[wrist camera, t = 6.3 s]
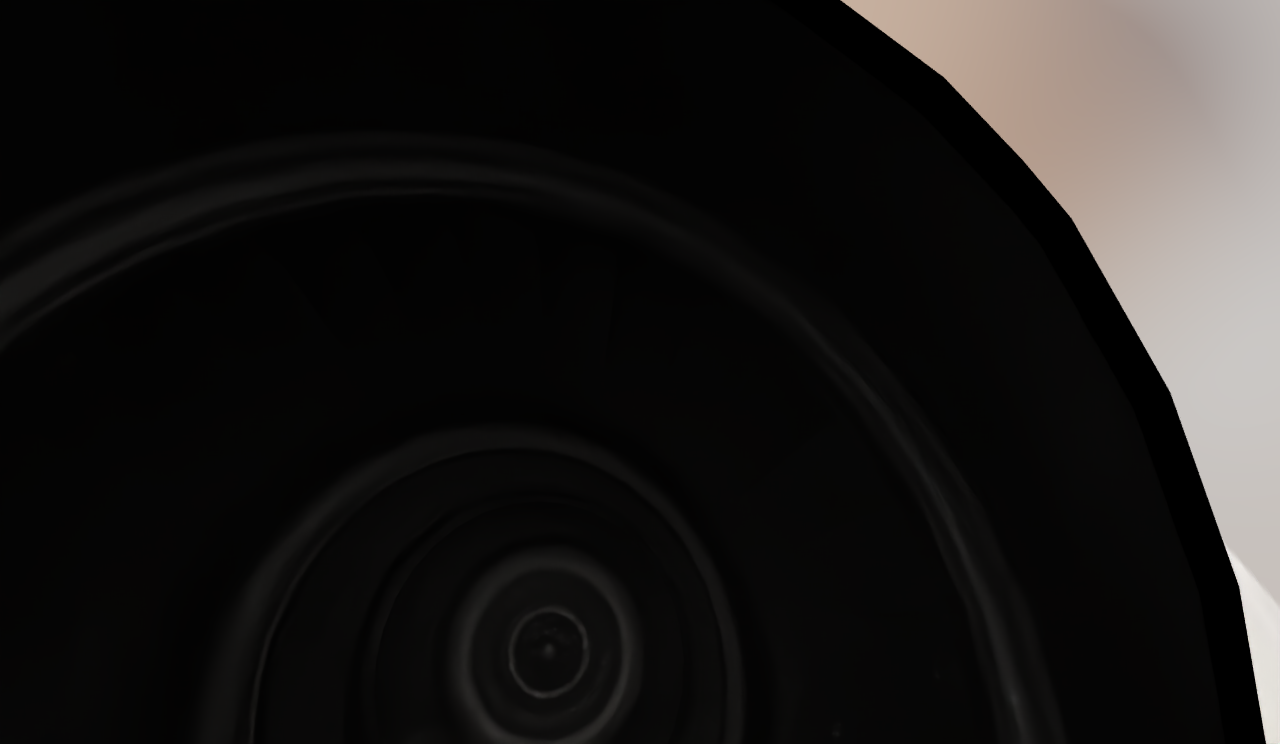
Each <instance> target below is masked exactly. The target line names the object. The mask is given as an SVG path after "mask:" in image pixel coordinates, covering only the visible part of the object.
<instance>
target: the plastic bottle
mask: <svg viewBox="0 0 1280 744" xmlns="http://www.w3.org/2000/svg"><path fill="white" fill-rule="evenodd" d="M0 744H1266V741H1265V735H1264V729H1263V723H1262V717H1261V711H1260V706H1259V700H1258V694H1257V688H1256V682H1255V676H1254V670H1253V665H1252V659H1251V653H1250V647H1249V641H1248V635H1247V629H1246V624H1245V618H1244V612H1243V606H1242V600H1241V594H1240V588H1239V585H1238V582H1237V579H1236V576H1235V574H1234V571H1233V568H1232V565H1231V562H1230V559H1229V557H1228V554H1227V551H1226V548H1225V545H1224V543H1223V540H1222V537H1221V534H1220V531H1219V529H1218V526H1217V523H1216V520H1215V517H1214V515H1213V512H1212V509H1211V506H1210V503H1209V500H1208V498H1207V495H1206V492H1205V489H1204V486H1203V483H1202V481H1201V478H1200V475H1199V472H1198V469H1197V467H1196V464H1195V461H1194V458H1193V455H1192V452H1191V450H1190V447H1189V444H1188V441H1187V438H1186V436H1185V433H1184V430H1183V427H1182V424H1181V421H1180V419H1179V416H1178V413H1177V410H1176V407H1175V405H1174V402H1173V399H1172V396H1171V393H1170V391H1169V389H1168V388H1167V386H1166V384H1165V382H1164V381H1163V379H1162V377H1161V375H1160V373H1159V372H1158V370H1157V368H1156V366H1155V365H1154V363H1153V361H1152V359H1151V358H1150V356H1149V354H1148V353H1147V351H1146V349H1145V347H1144V345H1143V343H1142V342H1141V340H1140V338H1139V336H1138V335H1137V333H1136V331H1135V329H1134V328H1133V326H1132V324H1131V322H1130V321H1129V319H1128V317H1127V315H1126V314H1125V312H1124V310H1123V308H1122V307H1121V305H1120V303H1119V301H1118V299H1117V298H1116V296H1115V294H1114V292H1113V291H1112V289H1111V287H1110V286H1109V284H1108V282H1107V280H1106V278H1105V277H1104V275H1103V273H1102V271H1101V269H1100V268H1099V266H1098V264H1097V263H1096V261H1095V259H1094V257H1093V255H1092V254H1091V252H1090V250H1089V248H1088V247H1087V245H1086V243H1085V241H1084V240H1083V238H1082V236H1081V234H1080V232H1079V231H1078V229H1077V227H1076V225H1075V224H1074V222H1073V220H1072V218H1070V216H1069V215H1068V214H1067V213H1066V211H1065V210H1064V209H1063V208H1062V207H1061V205H1060V204H1059V203H1058V202H1057V201H1056V199H1055V198H1054V197H1053V196H1052V195H1051V193H1050V192H1049V191H1048V190H1047V189H1046V187H1045V186H1044V185H1043V184H1042V183H1041V181H1040V180H1039V179H1038V178H1037V177H1036V175H1035V174H1034V173H1033V172H1032V171H1031V169H1030V168H1029V167H1028V166H1027V165H1026V164H1025V162H1024V161H1023V160H1022V159H1021V158H1020V157H1019V156H1018V155H1017V154H1016V153H1015V152H1014V151H1013V149H1012V148H1011V147H1010V146H1009V145H1008V144H1007V143H1006V142H1005V141H1004V140H1003V139H1002V138H1001V137H1000V136H999V135H998V134H997V133H996V132H995V131H994V130H993V128H991V126H990V125H989V124H988V123H987V122H986V121H985V120H984V119H983V118H982V117H981V116H980V115H979V114H978V113H977V112H976V111H975V110H974V108H972V106H971V105H970V104H969V103H968V102H967V101H966V100H965V99H964V98H963V97H962V96H961V95H960V94H959V93H958V92H957V91H956V90H955V89H954V88H953V87H952V85H951V84H950V83H949V82H948V81H947V80H946V79H945V78H944V77H943V76H941V75H940V74H938V73H937V72H936V71H935V70H933V69H932V68H931V67H929V66H928V65H927V64H925V63H924V62H923V61H921V60H920V59H918V58H917V57H916V56H914V55H913V54H912V53H911V52H909V51H908V50H907V49H905V48H904V47H903V46H901V45H900V44H898V43H897V42H896V41H894V40H893V39H892V38H890V37H889V36H888V35H886V34H885V33H884V32H882V31H881V30H880V29H878V28H877V27H876V26H874V25H873V24H872V23H870V22H869V21H868V20H866V19H865V18H864V17H862V16H861V15H860V14H858V13H857V12H856V11H854V10H853V9H852V8H850V7H849V6H847V5H846V4H845V3H843V2H842V1H841V0H0Z"/></svg>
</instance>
